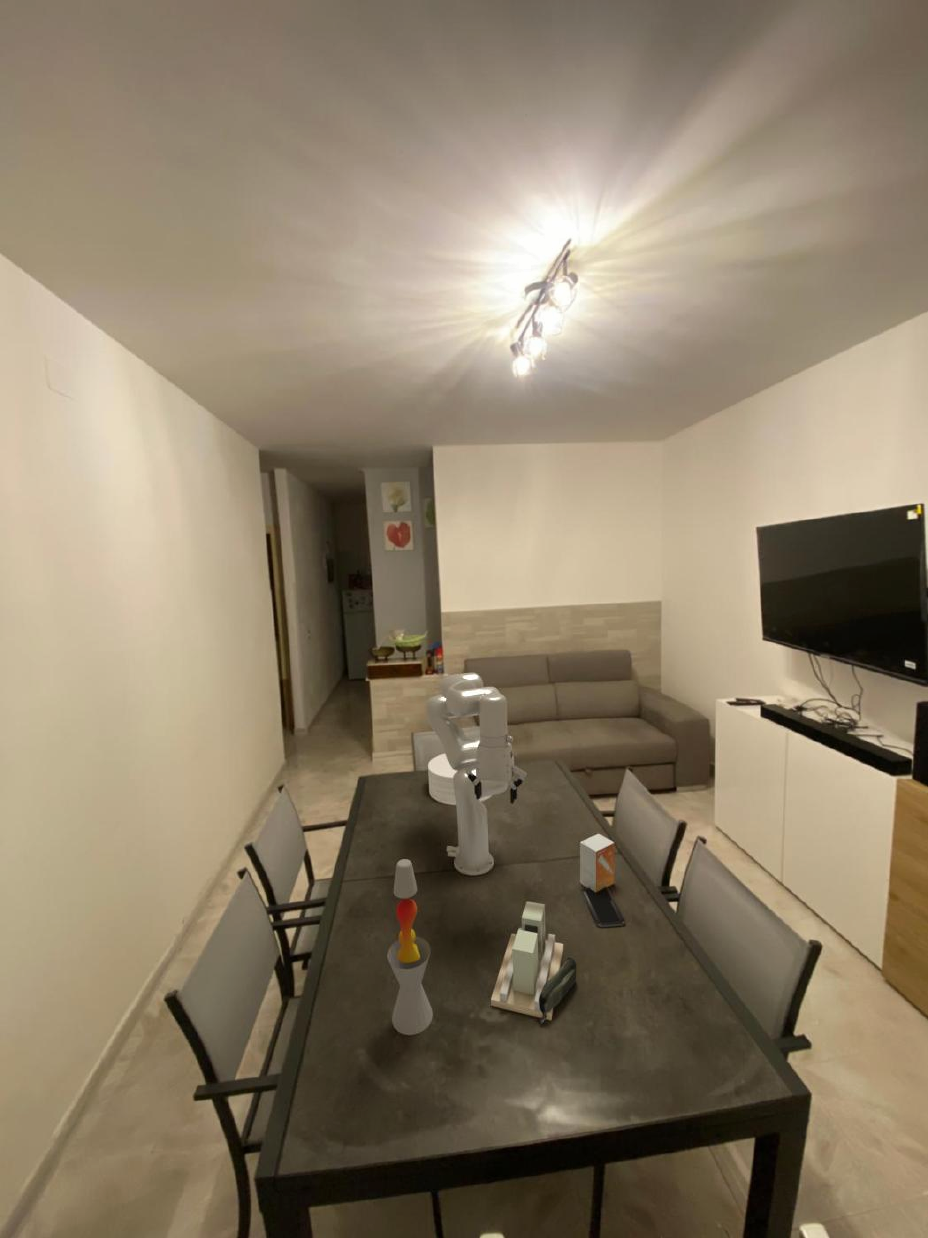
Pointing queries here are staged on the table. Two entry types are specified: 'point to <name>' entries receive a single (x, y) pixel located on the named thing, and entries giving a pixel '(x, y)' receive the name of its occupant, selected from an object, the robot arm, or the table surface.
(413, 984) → the lava lamp
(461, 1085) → the table surface
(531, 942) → the pale green tall block
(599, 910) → the phone
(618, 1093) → the table surface
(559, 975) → the mobile phone
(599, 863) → the small box
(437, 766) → the plate stack
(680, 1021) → the table surface
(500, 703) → the robot arm
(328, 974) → the table surface
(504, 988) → the rail board
